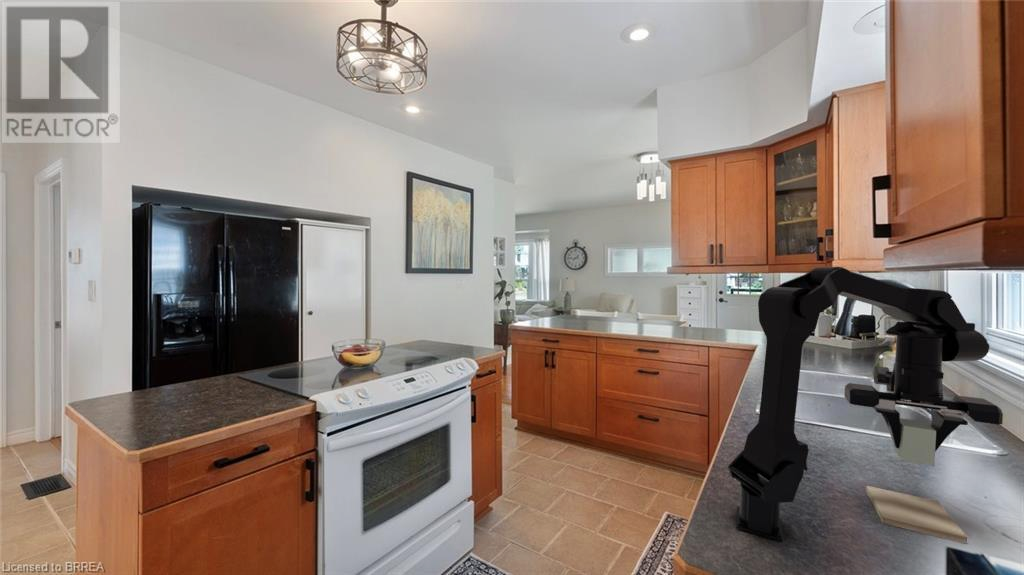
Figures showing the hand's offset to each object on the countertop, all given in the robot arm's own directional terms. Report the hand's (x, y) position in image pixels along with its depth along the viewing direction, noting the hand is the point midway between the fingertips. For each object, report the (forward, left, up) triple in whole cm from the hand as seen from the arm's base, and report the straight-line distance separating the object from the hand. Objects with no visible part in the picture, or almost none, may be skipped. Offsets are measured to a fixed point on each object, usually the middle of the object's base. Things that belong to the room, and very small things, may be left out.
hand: (913, 450), depth 71 cm
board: (0, 0, -11) cm, 11 cm away
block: (0, 0, -1) cm, 1 cm away
